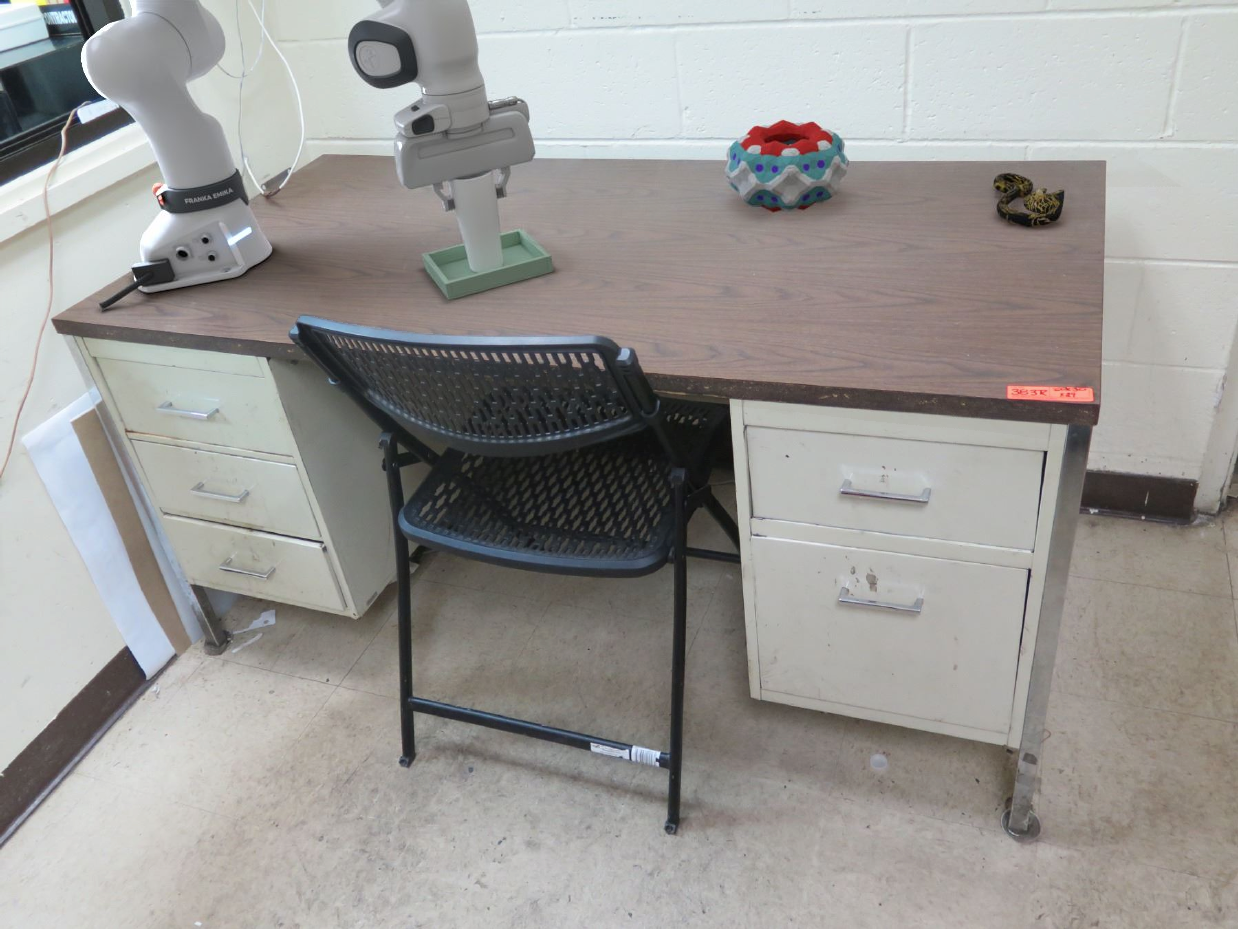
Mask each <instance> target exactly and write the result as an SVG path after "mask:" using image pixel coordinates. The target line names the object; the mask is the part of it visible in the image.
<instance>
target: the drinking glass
mask: <svg viewBox="0 0 1238 929" xmlns="http://www.w3.org/2000/svg"><path fill="white" fill-rule="evenodd" d="M495 184H496V181H495V177H494V172H493V170H491V171H487V172H483V173H479V174H474V175H470V176H466V177H462V178H458V179H453V180H449V181H447V185H448V190H449V191H448V192H449V195H450V196H451V197H452V198H453V200H454V206H455V210H453V212H454V215H455V219H456V222H457V225H458V226H457V227H458V229H459V233H460V236H461V240H462V242H463V243H464V247H465V250H466V254H467V257H468V262H469V267H470V269H471V270H472V271H473V272H475V273H480V272H484V271H488V270H492V269H495V268H499V267H502V266H503V264H504V260H503V254H502V246H501V235H500V234H501V225H500V214H499V213H500V212H499V199H497V192H496V186H495ZM463 243H462V244H463Z"/></svg>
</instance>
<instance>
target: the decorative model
mask: <svg viewBox="0 0 1238 929" xmlns="http://www.w3.org/2000/svg"><path fill="white" fill-rule="evenodd" d="M845 145H846V144H845V142H844V139H843V138H841V137H840V136H839V135H838V133H836V132H835V131H832V130H831V129H828V128H823V127H821V126H820V125H819V124H817V123H816V122H814V121H809V122H806V123H805V122H802V121H800V122H792V121H789V120H785V119H781V120H779V121H777V122H775V123H773V124H770V125H769V124H767V125H766V124H765V125H754V126H753V127H752V128H751V129H749V130H748V131H747V133H746V134H745V135H743V136H740V137H739V138H737V139H736V140H735V141H734V142H733V143H732V144H731V145H730V146H729V147H728V148H727V150H726V154H725V156H726V159H727V164H726V166H725V168H724V175H725V177H726V178H727V179H726V181H727V183H728V184H729V185H730V187H732V188H733V189H734V191H736V192H738V194H739V197H740V199H741V200H742V201H743V202H744V203H745V204H747V205H748V206H751V207H752V208H763V209H765V210H767V211H769V212H772V213H776V212H780V211H786V212H794V211H795V210H800V211H805V210H807V209H808V208H811V207H812V206H813V205H815V204H821V203H824V202H826V201H828V200H830V199H832V197H833V196H836V194H837V193H838V192H839V189H840V182H841V181H842V179H843V178H844V177H845V176H846V175H847V174H848V167H849V165H850V160H849V159H848V156H847V155H846V154H845Z"/></svg>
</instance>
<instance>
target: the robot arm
mask: <svg viewBox="0 0 1238 929" xmlns="http://www.w3.org/2000/svg"><path fill="white" fill-rule="evenodd" d="M375 1H376V2H377V4H378V6H380V8H381V9H379V10H377V11H375V12H373V13H371V14H369V15H367V16H365V17H364V18H362V19H360V20H359V21H358V22H356V23H355V24H354V25H353V26H352V28H351V29H350V31H349V34H348V39H347V52H348V58H349V60H350V62H351V65H352V67H353V69H354V70H355V73H356V74H357V75H358V76H359V78H360V79H362V81H364V82H365V83H366V84H367V85H369V86H370V87H373V88H375V89H379V90H386V89H394V88H395V89H396V88H398V87H401V86H404V85H406V84H410V83H415V84H417V85H418V86H419V89H420V93H421V97H420V98H419V99H417V100H416V101H413V103H411V104H409V105H408V106H405V107H404V108H402V109H400V110H399V111H397V112H396V113H395V114H394V115H393V123H394V126H395V128H396V130H397V131H398V132H397V134H395V137H394V140H393V153H394V154H393V155H394V163H395V169H396V174H397V178H398V181H399V183H400V184H401V185H402V186H403V187H405V188H406V189H408V190H415V189H419V188H423V187H428V186H430V188H431V190H432V191H433V192H434V193H435V194H436V195H437V197H438V198H440V201H441V206H442V210H443V211H444V212H445V213H446V212H447V213H448V212H450V211H454V210H455V206H454V200H453V198H452V197H451V196H450V194H449V195H445V194H444V193H443V192H442V190H444V185H443V183H445V182H448V181H449V180H453V179H458V178H462V177H466V176H470V175H474V174H479V173H483V172H487V171H491V170H492V171H495V170H496V171H497V172H498V173H499V174H500V175H499V178H498V181H497V183H495V186H496V192H497V200H501V199H504V198H507V197H508V193H507V188H506V186H507V184H508V182H509V179H510V176H511V174H512V172H511V167H512V166H517V165H521V164H525V163H529V162H532V161H533V159H534V157H535V155H536V148H535V143H534V139H533V135H532V131H531V127H530V125H529V123H530V118H531V116H530V109H529V105H528V103H527V102H526V101H525V100H524V99H522V98H519V97H517V96H516V95H513V96H508V97H506V98H500V99H493V100H488V95H487V90H486V84H485V79H484V77H483V74H482V72H481V69H480V65H479V44H478V38H477V33H476V29H475V23H474V20H473V15H472V12H471V8H470V5H469V2H468V0H375ZM129 2H130V5H131V8H132V15H131V16H128V17H126V18H123V19H120V20H117V21H114V22H110V23H108V24H107V25H105V26H103V27H102V28H101V29H100V30H98V31H97V32H96V33H94V34H93V35H92V36H91V37H90V38H89V39H87V40H86V41H85V43H84V44H83V47H82V50H81V63H82V64H81V65H82V68H83V72H84V74H85V76H86V78H87V80H88V82H89V83H90V84H91V86H92V87H93V88H94V89H95V90H96V92H97V93H98V94H99V95H101V96H102V97H104V98H105V99H107V100H108V101H110V102H112V103H114V104H116V105H118V106H120V107H121V108H123V110H125V111H126V112H127V113H128V114H129V115H130V116H131V117H132V119H133V120H134V121H135V122H136V123H137V125H138V127H139V128H140V130H141V131H142V132H143V134H144V136H145V138H146V139H147V141H148V143H149V145H150V147H151V150H152V152H153V155H154V157H155V160H156V163H157V164H158V167H159V169H160V173H161V174H162V177H163V180H164V182H165V183H164V184H163V183H161V182H156V183H154V184H153V185H152V186H153V187H152V193H153V195H154V196H155V197H156V199H157V203H158V205H159V207H160V209H161V211H160V212H159V214H158V215H157V216H156V217H155V219H154V220H153V221H152V223H151V224H150V225H149V226H148V228H147V229H146V230H145V231H144V233H143V234H142V236H141V239H140V244H139V245H140V247H139V252H140V258H141V261H140V262H134V263H133V264H132V265H131V267H130V270H131V271H132V274H133V280H134V282H132V283H131V284H129V285H127V286H126V287H125V288H122V289H121V290H120V291H118V292H116V293H115V294H114V295H113V296H111V297H109V298H107V299H106V300H104V301H101V302H99V307H100V308H101V309H102V310H104V309H107V308H109V307H110V306H112V305H114V304H115V303H117V302H118V301H120V300H122V299H123V298H124V297H126V296H128V295H129V294H131V293H132V292H133V291H135V290H137V289H138V290H139V291H141V292H143V293H146V294H147V293H148V294H149V293H156V292H161V291H166V290H173V289H178V288H183V287H189V286H196V285H200V284H206V283H212V282H217V281H221V280H229V279H233V278H238V277H240V276H242V275H243V274H244V273H245V272H246V271H248V270H249V269H250V268H252V267H253V266H255V265H257V264H259V263H261V262H264V260H266V259H267V258H268V257H269V256H270V255H271V254H272V252H273V246H272V244H271V243H270V242H269V241H268V239H267V237H266V236H265V234H264V233H263V231H262V230H261V227H260V225H259V224H258V223H259V222H258V221H257V219H256V217H255V214H254V213H253V211H252V209H251V206H250V198H249V194H248V190H247V188H246V185H245V184H246V183H245V181H244V179H243V178H244V177H243V175H242V174H241V173H240V170H239V168H237V167H236V165H235V162H234V159H233V156H232V153H231V149H230V146H229V143H228V141H227V138H226V134H225V132H224V129H223V126H222V124H221V123H220V122H219V120H218V119H217V118H216V117H215V116H213V115H211V114H209V113H206V112H204V111H202V110H201V109H200V107H199V106H198V104H196V101H194V99H193V98H192V96H191V94H190V92H189V90H188V87H187V84H188V83H191V82H193V81H195V80H198V79H200V78H202V77H204V76H206V75H207V74H208V73H209V72H211V71H212V70H213V68H214V67H215V66H216V65H217V64H218V63H219V62H220V61H221V60H222V59H223V57H224V55H225V52H226V46H227V45H226V36H225V33H224V30H223V27H222V25H221V23H220V22H219V21H218V19H217V17H215V15H214V14H213V13H212V12H211V11H210V10H208V9H207V8H206V7H205V6H203V4H202V3H201V2H200V0H129Z"/></svg>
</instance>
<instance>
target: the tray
mask: <svg viewBox="0 0 1238 929" xmlns="http://www.w3.org/2000/svg"><path fill="white" fill-rule="evenodd" d="M500 235H501V246H502V254H503V260H504V264H503V266H502V267H499V268H495V269H492V270H488V271H484V272H480V273H475V272H473V271H472V270H471V269H470V267H469V262H468V257H467V254H466V250H465V247H464V243H460V244H456V245H453V246H449V247H445V248H441V249H437V250H433V251H429V252H425V253H422V254H421V255H422V259H423V264H424V269H425V271H426V272H427V273H428V275H429V276H430V277H431V278H432V280H433V281H434V283H435V284H436V286H438V288H439V289H440V291H441V292H442V293H443V294H444V296H445V297H446V299H447V300H448V301H451V300H454V299H458V298H462V297H465V296H470V295H473V294H476V293H480V292H484V291H487V290H492V289H494V288H498V287H503V286H506V285H509V284H514V283H516V282H521V281H524V280H527V279H531V278H535V277H539V276H542V275H546V274H549V273H550V274H551V273H553V272H554V266H553V261H552V260H553V259H552V255H551V254H550V253H548V251H546V249H545V248H543V247H542V246H541V245H540V244H539V243H538V242H537V241H536V240H535V239H534V238H533V237H531V236H530V235H529V234H528V233H527V232H526V231H525V230H524V229H523V228H518V229H514V230H511V231H507V232H503V233H500Z"/></svg>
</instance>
